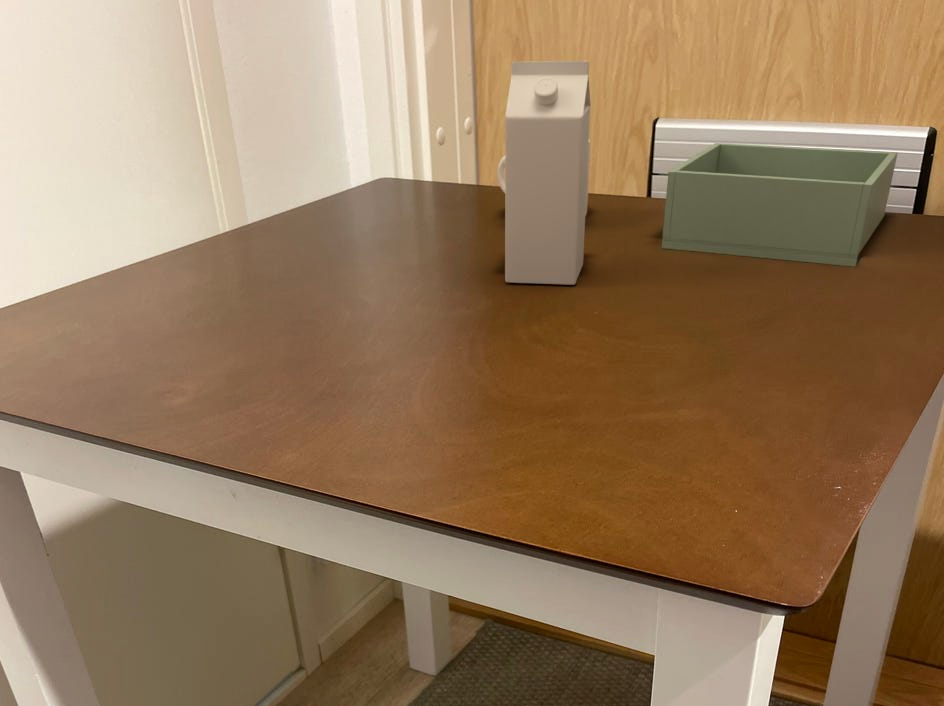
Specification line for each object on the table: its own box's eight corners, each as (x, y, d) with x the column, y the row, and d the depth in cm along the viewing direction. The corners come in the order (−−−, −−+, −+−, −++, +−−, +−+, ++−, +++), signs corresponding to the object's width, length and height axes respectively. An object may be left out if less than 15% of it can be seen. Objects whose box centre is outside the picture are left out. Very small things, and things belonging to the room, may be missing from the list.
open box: (882, 226, 113) (897, 152, 108) (855, 267, 99) (872, 184, 95) (707, 212, 121) (715, 142, 116) (661, 248, 107) (668, 171, 103)
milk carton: (516, 265, 103) (517, 57, 92) (583, 267, 102) (592, 57, 91) (504, 284, 97) (505, 65, 86) (575, 286, 96) (584, 65, 85)
